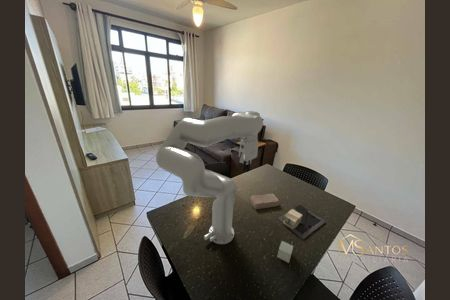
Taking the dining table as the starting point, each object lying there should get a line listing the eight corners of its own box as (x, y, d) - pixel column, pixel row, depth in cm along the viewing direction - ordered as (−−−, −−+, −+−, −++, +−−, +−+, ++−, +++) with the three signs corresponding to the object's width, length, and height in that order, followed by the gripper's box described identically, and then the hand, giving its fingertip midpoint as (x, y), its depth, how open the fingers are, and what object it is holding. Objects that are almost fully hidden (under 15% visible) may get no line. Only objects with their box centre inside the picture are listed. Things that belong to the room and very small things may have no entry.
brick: (272, 198, 116) (273, 192, 114) (279, 206, 109) (280, 200, 107) (249, 201, 112) (249, 195, 110) (254, 210, 104) (255, 204, 103)
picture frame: (299, 207, 110) (277, 220, 98) (300, 204, 109) (277, 217, 98) (325, 223, 97) (302, 240, 86) (325, 220, 97) (303, 237, 85)
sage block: (288, 263, 74) (290, 254, 72) (277, 257, 77) (278, 249, 75) (291, 254, 78) (293, 246, 77) (280, 248, 81) (281, 240, 79)
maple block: (295, 222, 88) (302, 214, 93) (284, 215, 92) (291, 208, 97) (293, 229, 90) (300, 222, 95) (282, 222, 94) (290, 215, 99)
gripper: (245, 142, 79) (242, 177, 85) (264, 136, 88) (260, 168, 95) (233, 138, 84) (231, 172, 90) (252, 133, 93) (249, 164, 100)
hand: (246, 170), depth 93 cm, fingers closed
